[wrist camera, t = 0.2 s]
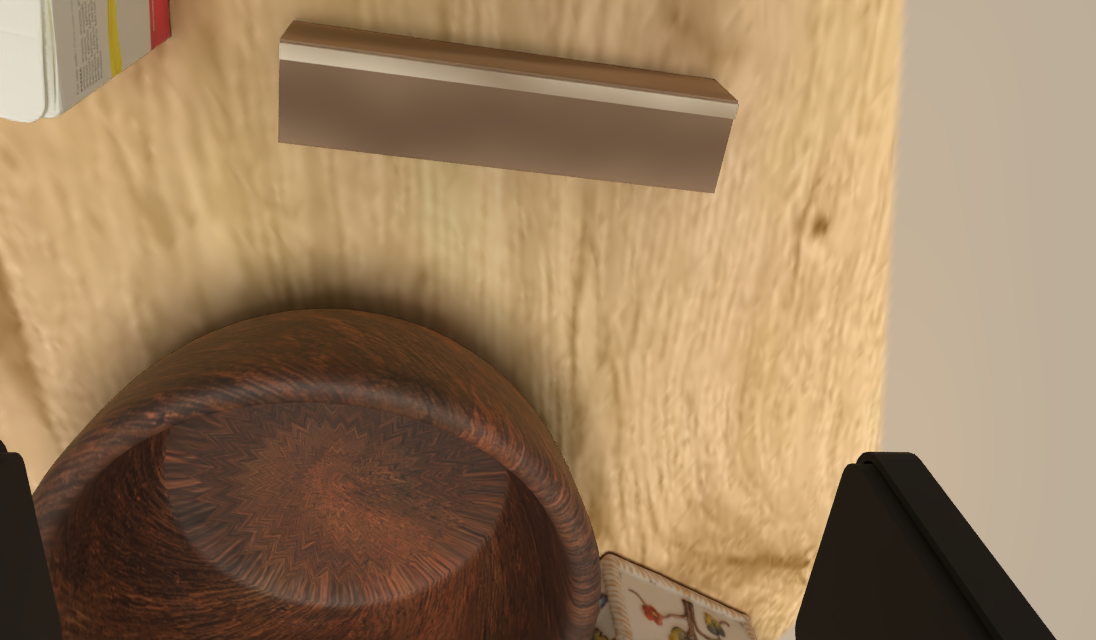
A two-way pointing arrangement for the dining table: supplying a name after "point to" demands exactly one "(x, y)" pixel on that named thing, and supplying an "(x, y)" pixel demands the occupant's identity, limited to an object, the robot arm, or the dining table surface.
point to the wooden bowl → (318, 496)
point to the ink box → (70, 50)
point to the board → (500, 108)
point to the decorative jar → (660, 608)
